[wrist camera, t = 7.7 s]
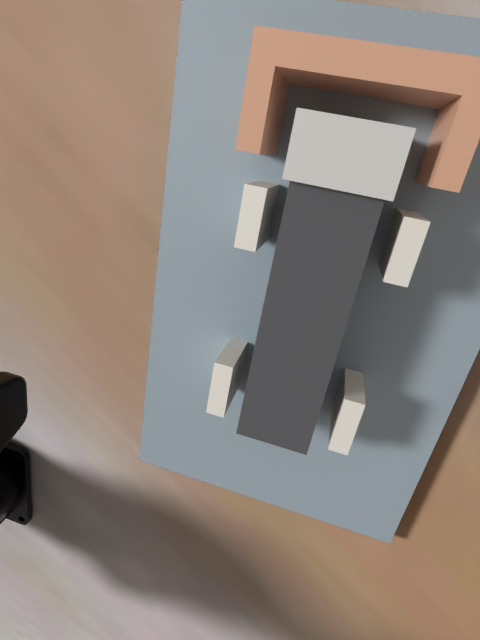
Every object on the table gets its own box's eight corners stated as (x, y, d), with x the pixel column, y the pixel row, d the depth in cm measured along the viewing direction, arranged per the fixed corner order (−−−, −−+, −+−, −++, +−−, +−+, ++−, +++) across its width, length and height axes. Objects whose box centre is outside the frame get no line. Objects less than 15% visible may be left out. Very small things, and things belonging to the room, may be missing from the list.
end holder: (437, 186, 15) (459, 192, 12) (256, 151, 16) (235, 149, 13) (474, 82, 13) (508, 61, 10) (273, 52, 14) (254, 25, 12)
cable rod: (316, 415, 19) (310, 463, 16) (247, 394, 20) (229, 437, 17) (402, 135, 14) (416, 128, 11) (307, 118, 15) (296, 107, 12)
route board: (388, 530, 22) (394, 591, 18) (145, 451, 24) (115, 494, 21) (608, 43, 13) (689, 7, 10) (192, -10, 15) (151, -54, 12)
